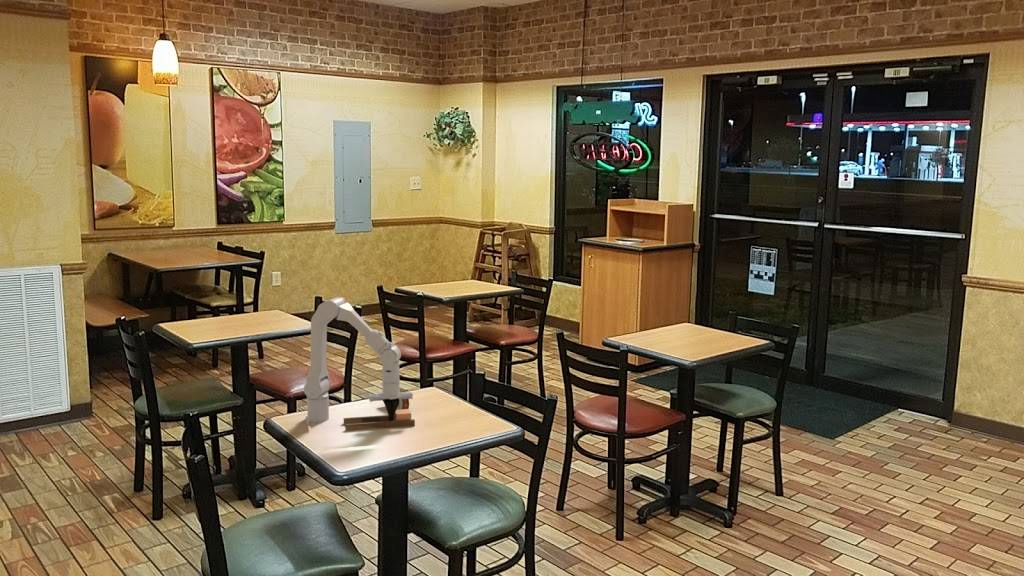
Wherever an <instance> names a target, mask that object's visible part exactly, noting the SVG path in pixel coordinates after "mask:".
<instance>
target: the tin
mask: <svg viewBox="0 0 1024 576" xmlns="http://www.w3.org/2000/svg"><path fill="white" fill-rule="evenodd" d="M399 392H406V391H405V390H404V389H403V388H400V387H399ZM399 401H400V402H399V405H398V407H397V409H396V410H402V409H409V410H410V399H399Z"/></svg>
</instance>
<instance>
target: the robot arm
mask: <svg viewBox="0 0 1024 576" xmlns="http://www.w3.org/2000/svg"><path fill="white" fill-rule="evenodd" d="M333 319H336V320H337V321H343V322H348V323H349V325H350V326H352V327H354V329H355V330H357V331H358V332H359V333H360V334H361V335H362V336H363V337H364V343H365V344H367V345H368V346H369V347H370V348H371V349H372V350H373V351H374V352H375V353H376V355H378V356H379V360H380V362H381V364H382V371H381V372H382V379H381V380H382V382H381V383H382V384H381V385H382V387H381V389H382V392H379V393H375V394H369V395H368V400H369V402H370V403H373V402H375V401H376V402H378V401H382V402H383V403H384V404H383V405H384V407H385V410H386V412H387V415H388V417H389V421H393V420H394V415H395V412H396V410H398V409H397V407H398V405H399V402H400V401H399V399H409V400H413V396H414V394H413V391H411V392H410V391H407V392H406V391H405V392H399V388H400V359H401V357H402V350H401V349H400V347H399V345H396V344H393V342H391V341H389V340H388V338H386V337H385V336H384V333H383V331H379V330H377V329H372V328H371V327H370V326H369V325H368V323H367V322H366V321H365V320H364V319H363V318H362V317H361V316H360V314H358V313H357V311H355V309H354V307H352V304H350V303H349V302H347V301H346V299H344V298H343V297H342V296H335V297H333V298H331V299H328V300H325V301H323V302H322V303H320V304H319V305H318V306H317V309H316V310H315V312H314V313H313V315H312V317H311V319H310V364H309V365H310V366H309V368H310V369H309V371H308V374H307V376H306V381H305V382H306V383H305V384H304V387H303V392H304V394H305V395H306V406H307V407H306V409H307V413H306V416H305V421H306V425H307V426H311V422H312V423H322V422H325V421H328V420H329V419H330V417H329V416H330V410H329V407H330V405H329V400H330V399H329V398H330V397H329V390H331V386H332V382H331V379H330V375H329V374H330V373H329V370H328V369H327V348H328V347H327V346H328V345H327V343H328V342H327V341H328V340H327V339H328V338H327V337H328V333H327V332H328V324H329V323H330V322H332V320H333Z"/></svg>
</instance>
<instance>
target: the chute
mask: <svg viewBox="0 0 1024 576" xmlns="http://www.w3.org/2000/svg"><path fill="white" fill-rule="evenodd" d="M415 424H416V420H415V419H412V418H411V420H397V421H394V420H393V421H389V417H388V414H383V415H382V414H381V415H369V416H367V415H366V416H356V417H355V416H353V417H352V416H351V417H343V426H344V429H345V432H348V431H362V430H363V431H364V430H377V429H378V430H379V429H387V428H388V429H389V428H390V429H391V428H402V427H405V428H406V427H415V426H416V425H415Z"/></svg>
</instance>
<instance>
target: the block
mask: <svg viewBox="0 0 1024 576" xmlns="http://www.w3.org/2000/svg"><path fill="white" fill-rule="evenodd" d="M411 419H412V412H411V411H410V408H409V409H402V410H398V409H396V412H395V415H394V421H397V420H411Z"/></svg>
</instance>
